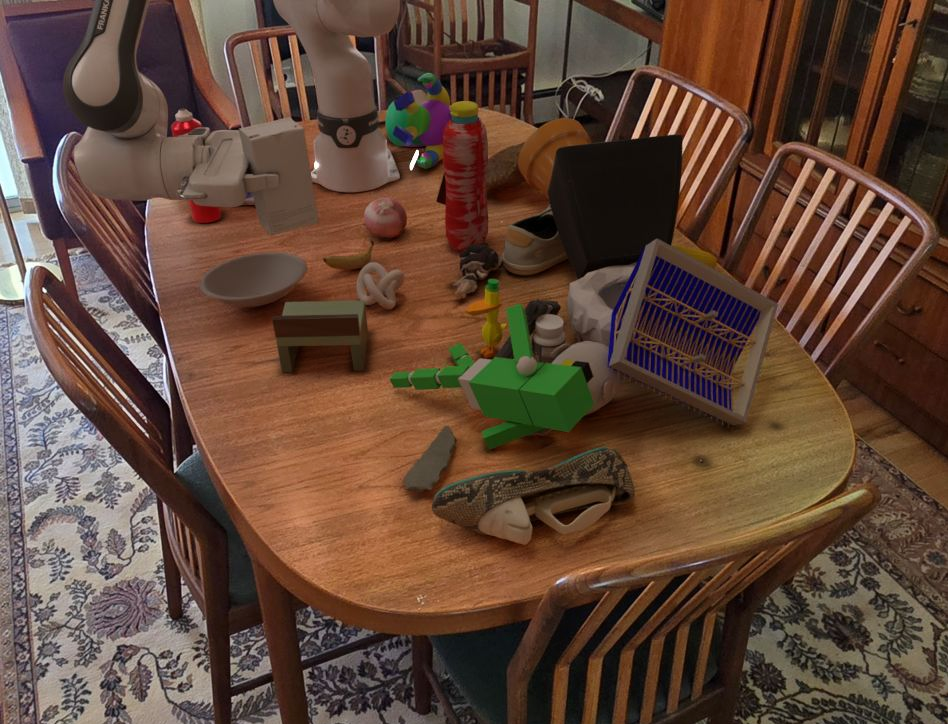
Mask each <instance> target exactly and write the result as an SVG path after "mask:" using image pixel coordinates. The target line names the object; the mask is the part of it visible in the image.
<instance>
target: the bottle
mask: <svg viewBox="0 0 948 724" xmlns="http://www.w3.org/2000/svg"><path fill="white" fill-rule="evenodd" d="M174 117H175V121H174V122H173V123H172V124H171V125H170V131H171V137H177V136H179V135H184V134H187V133H189V132H191V131H192V130H194V129H196V128H198V127H203V124H202V123H201V121H199V120H198V119H196V118H194V117H193V113H192V112H190V111H189V110H188V109H186V108H180V109H178V111H177V113H175V115H174ZM187 202H188V205H189V210H190V214H191V218H192V220H193V221H194V222H195V223H198V224H209V223H213V222H216V221H218V220H219V219H221V218H222V212H221V211H222V210H221V207H209V206H201V205H197V204H195V203H194V202H193V200H187Z"/></svg>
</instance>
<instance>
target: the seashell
mask: <svg viewBox="0 0 948 724" xmlns="http://www.w3.org/2000/svg"><path fill="white" fill-rule="evenodd" d="M525 142H526V141H523V142H521V143H518V144H516V145H511V146H508V147H506V148H504V149H502V150H500V151H498V152H497V153H494V154H493V155H491V156H490V157H488V166H487V177H486V193H487V192H489V191H490V190H492V189H495V188H497V189H507V188H512V187H517V186H520V185H522V184H523V183H527V181H526V180H525V178H524V177H523V175H522V174H521V172H520V170H519V166H518V158H519V154H520V151H521V149H522V147H523V145H524V143H525Z"/></svg>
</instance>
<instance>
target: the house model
mask: <svg viewBox="0 0 948 724" xmlns="http://www.w3.org/2000/svg"><path fill="white" fill-rule="evenodd" d="M778 307H779V303H778V302H776V301H775V300H773V299H770V298H768V297H767V296H765V295H763V294H762V293H760V292H758V291H755V290H753V289H752V288H750V287H748V286H746V285H745V284H742V283H741V282H739V281H738V280H736V279H734V278H731V277H730V276H728V275H726V274H724V273H723V272H720V271H718V270H717V269H715V268H711V267H709V266H707V265H706V264H704V263H702V262H700V261H698V260H696V259H694V258H693V257H691V256H689V255H687V254H685V253H683V252H681V251H680V250H678V249H676V248H674V247H672V246H670V245H668V244H667V243H665V242H663V241H661V240H659V239H655V240H654V241H652V242H651V243H649V244H648V245H646V247H644V249H643V251H642V253H641V255H640V257H639V259H638V261H637V263H636V265H635V267H634V269H633V271H632V273H631V276H630V278H629V280H628V282H627V284H626V286H625V288H624V290H623V292H622V294H621V296H620V298H619V300H618V302H617V304H616V306H615V308H614V310H613V312H612V318H611V329H610V341H609V353H608V365H607V367H609V368H612V371H613V369H614V370H616V371H618V374H619V372H620V373H622V375H623V378H625V377H629V381H631V380H632V379H633V380H634V381H635V384H637V382H639V383H641V387H643V385H645V386H647V389H649V387H650V388H651V389H653V391H652V393H655V391H658V395H659V396H661V393H662V394H664V399H667V396H668V397H670V402H673V401H672V400H673V399H675V400H676V404H678V402H681V403H682V406H684V405H687V407H688V408H687V409H688V410H690V407H691V408H693V412H694V413H695V412H696V410H698V411H699V414H702V413H704V417H705V418H706V417H707V415H708V416H710V420H712V419H713V418H714V419H716V422H718V420H719V421H721V426H723V425H724V423H725V424H727V427H729V426H731V427H732V426H737V425H741V424H746V423H747V421H748V418H749V414H750V410H751V405H752V404H753V403H752V402H753V399H754V395H755V391H756V387H757V384H758V380H759V377H760V373H761V369H762V366H763V363H764V358H765V354H766V351H767V347H768V344H769V340H770V336H771V333H772V328H773V325H774V321H775V318H776V314H777V310H778ZM754 329H755V331H754ZM753 331H754V335H753V338H752V337H751V335H752V333H753ZM749 346H750V349H749V352H748V357H747V359H746V363H745V367H744V370H743V376H742V378H741V380H739V379H737V378H736V377H733V376H732V375H733V372H734V368H735V366H736V363H737V361H738V359H739V358H740V356H741V354H742V352H743V351H744V348H746V347H749ZM731 380H732V381H735V382H732V381H731ZM732 385H733V386H732ZM736 388H739V389H738V392H737V396H736V400H735V403H734V407H733V410H732V390H734V389H736ZM701 412H702V413H701Z"/></svg>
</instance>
